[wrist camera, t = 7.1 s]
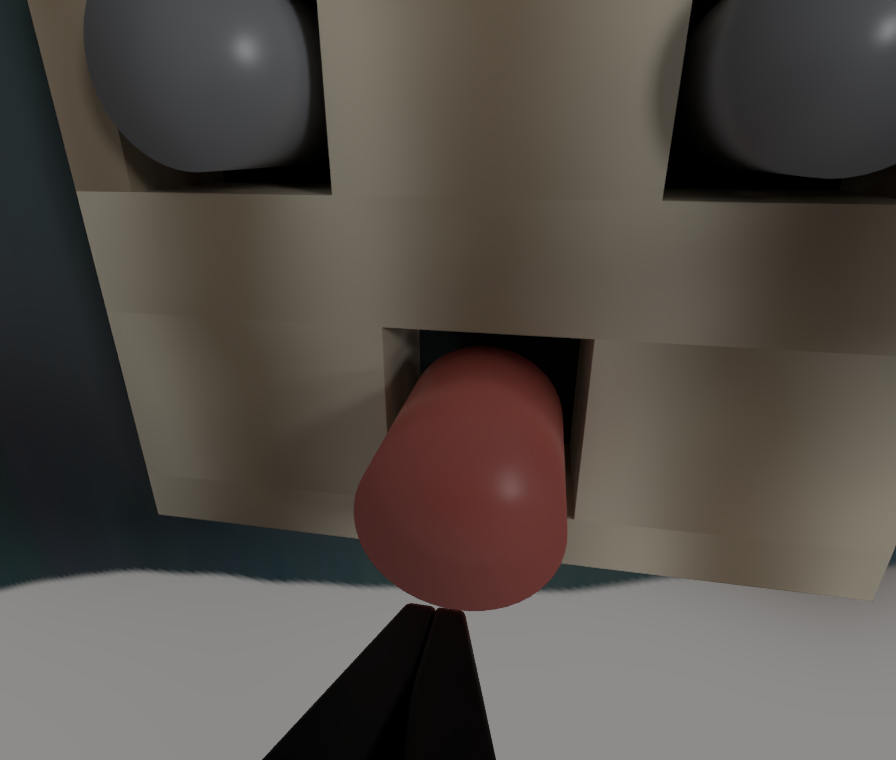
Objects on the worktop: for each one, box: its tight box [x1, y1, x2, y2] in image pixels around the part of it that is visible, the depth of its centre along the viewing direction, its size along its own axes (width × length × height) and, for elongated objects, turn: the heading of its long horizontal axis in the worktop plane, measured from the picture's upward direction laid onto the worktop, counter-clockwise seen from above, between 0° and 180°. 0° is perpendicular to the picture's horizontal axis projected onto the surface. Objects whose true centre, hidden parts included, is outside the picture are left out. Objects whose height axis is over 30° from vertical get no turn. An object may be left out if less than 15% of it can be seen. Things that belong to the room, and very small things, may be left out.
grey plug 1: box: [83, 0, 329, 172], centre depth 12 cm, size 4×4×4 cm
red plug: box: [354, 346, 568, 611], centre depth 12 cm, size 4×4×4 cm
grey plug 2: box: [675, 0, 896, 179], centre depth 11 cm, size 4×4×4 cm
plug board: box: [27, 0, 896, 601], centre depth 14 cm, size 20×16×4 cm
